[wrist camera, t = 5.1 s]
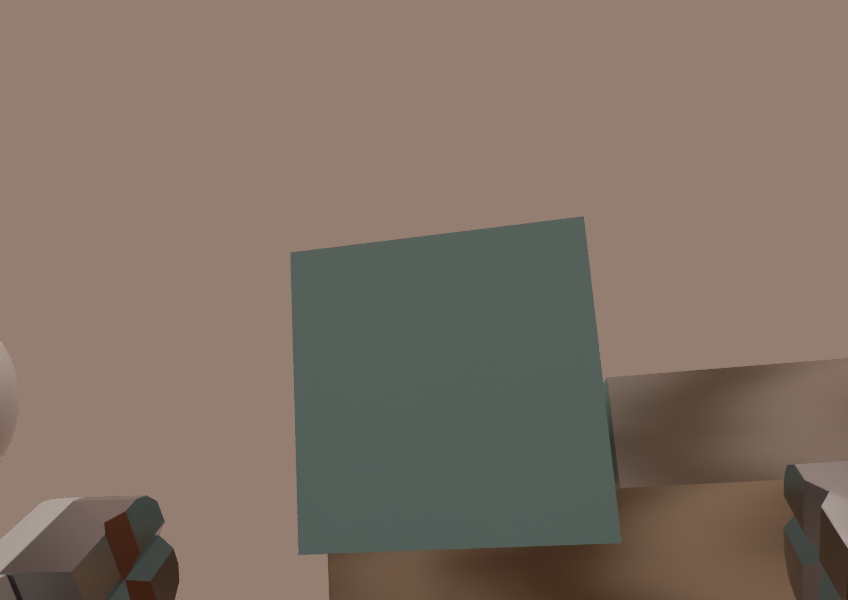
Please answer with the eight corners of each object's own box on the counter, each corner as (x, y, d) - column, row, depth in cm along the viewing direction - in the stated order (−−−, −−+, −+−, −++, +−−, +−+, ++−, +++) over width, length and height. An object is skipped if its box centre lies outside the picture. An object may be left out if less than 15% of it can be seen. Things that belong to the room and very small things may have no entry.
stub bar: (298, 554, 9) (290, 252, 10) (485, 471, 28) (477, 372, 29) (621, 542, 8) (583, 215, 9) (586, 465, 27) (575, 364, 28)
